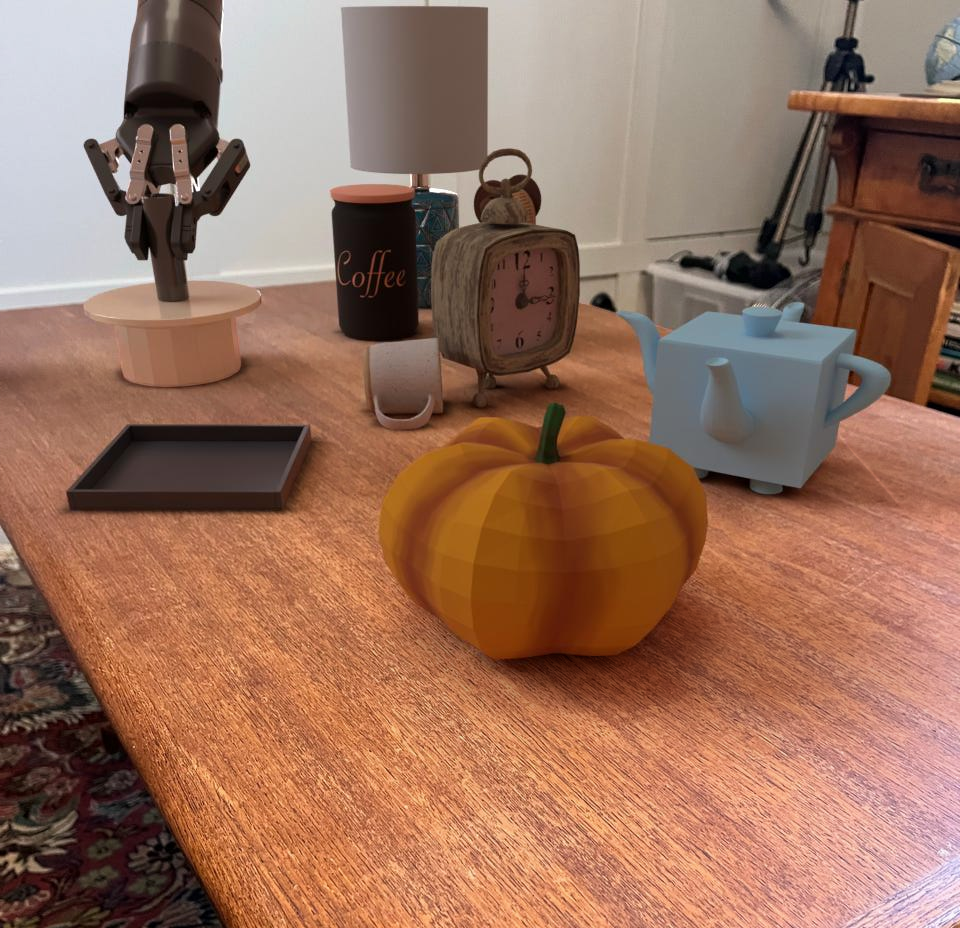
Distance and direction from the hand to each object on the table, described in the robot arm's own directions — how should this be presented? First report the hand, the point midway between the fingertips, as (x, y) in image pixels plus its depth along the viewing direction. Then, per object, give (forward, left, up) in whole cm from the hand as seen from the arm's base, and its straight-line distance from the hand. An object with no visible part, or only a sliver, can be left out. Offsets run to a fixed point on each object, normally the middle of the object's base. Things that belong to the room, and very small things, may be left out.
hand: (159, 253), depth 81 cm
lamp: (+17, +71, -20) cm, 76 cm away
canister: (-10, +35, -20) cm, 41 cm away
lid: (0, +2, -5) cm, 5 cm away
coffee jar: (+12, +53, -20) cm, 58 cm away
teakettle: (+49, +4, -20) cm, 53 cm away
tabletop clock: (+28, +27, -20) cm, 44 cm away
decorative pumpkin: (+30, -24, -20) cm, 43 cm away
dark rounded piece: (+29, +48, -20) cm, 60 cm away
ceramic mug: (+18, +19, -20) cm, 33 cm away
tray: (0, +2, -20) cm, 20 cm away
